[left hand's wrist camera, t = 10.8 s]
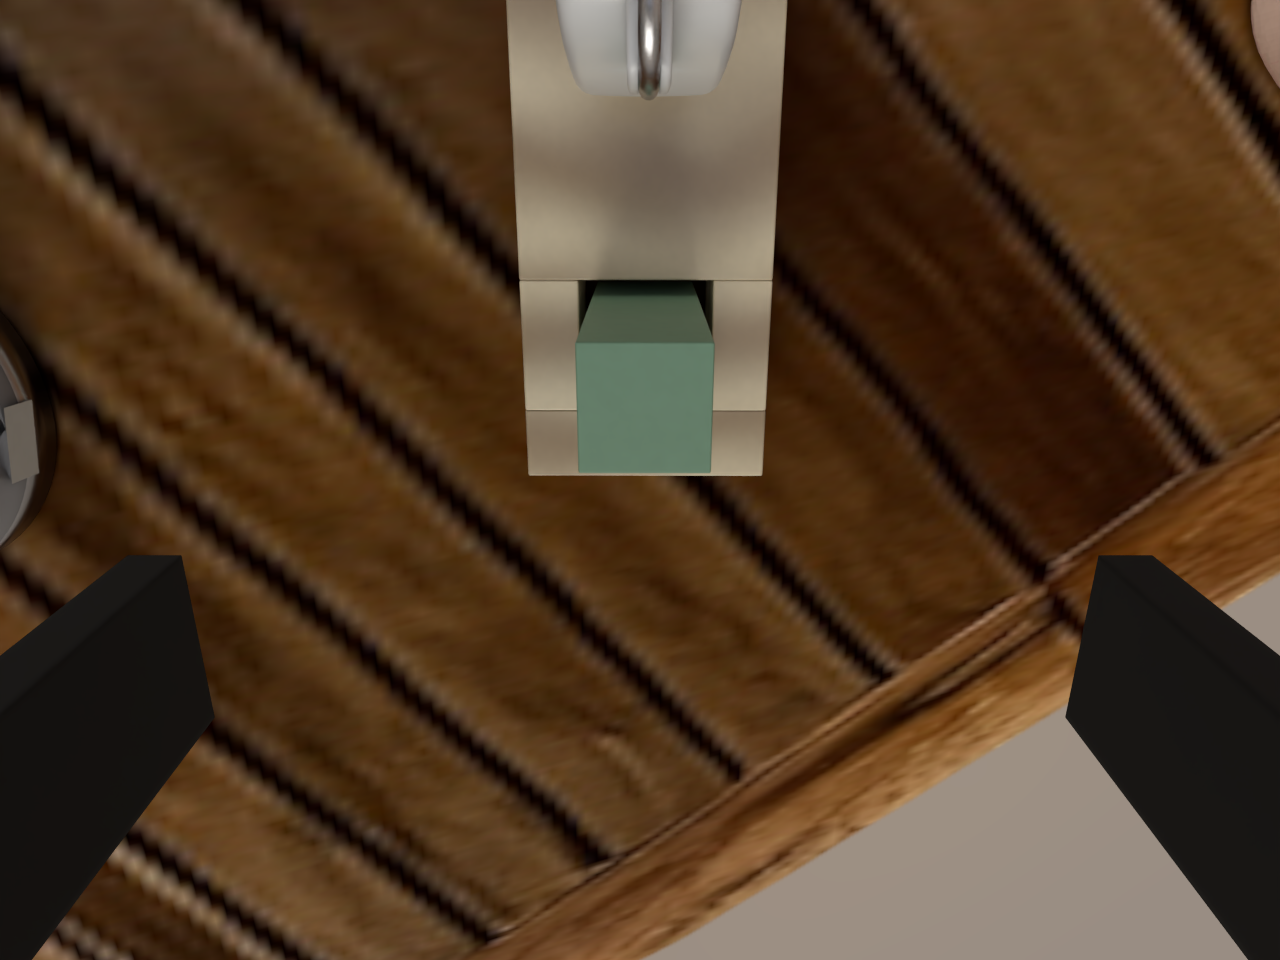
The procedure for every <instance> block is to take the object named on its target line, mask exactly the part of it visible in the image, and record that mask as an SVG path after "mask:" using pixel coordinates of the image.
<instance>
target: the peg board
mask: <svg viewBox="0 0 1280 960" xmlns="http://www.w3.org/2000/svg"><path fill="white" fill-rule="evenodd" d="M506 9H507V30H508V51H509V72H510V93H511V114H512V135H513V156H514V177H515V198H516V219H517V240H518V261H519V278H520V303H521V324H522V345H523V366H524V387H525V408H526V431H527V452H528V473H529V475H655V476H761V475H762V469H763V450H764V431H765V413H766V412H765V409H766V393H767V375H768V356H769V337H770V318H771V299H772V278H773V261H774V242H775V223H776V204H777V186H778V167H779V148H780V129H781V110H782V91H783V73H784V54H785V35H786V16H787V0H742V3H741V10H740V16H739V22H738V27H737V33H736V37H735V42H734V45H733V49H732V52H731V55H730V58H729V61H728V64H727V67H726V69H725V72H724V74H723V76H722V79H721V81H720V83H719V85H718V86H717V87H716V88H715V89H714V90H713V91H711V92H710V93H707V94H704V95H691V96H660V97H655V98H654V99H653V100H645V99H643V98H642V97H633V96H600V95H590V94H587V93H585V92H583V91H582V90H581V89H580V88H579V87H578V86H577V84H576V82H575V80H574V78H573V75H572V73H571V70H570V67H569V63H568V60H567V56H566V53H565V49H564V46H563V41H562V36H561V31H560V25H559V19H558V14H557V7H556V0H506ZM586 280H706V289H705V318H706V321H707V324H708V327H709V329H710V332H711V335H712V338H713V340H714V343H715V355H714V388H713V421H712V454H711V472H710V473H579V471H578V437H577V399H576V361H575V343H576V340H577V337H578V334H579V332H580V329H581V326H582V324H583V321H584V318H585V315H586Z"/></svg>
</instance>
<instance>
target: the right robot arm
mask: <svg viewBox="0 0 1280 960" xmlns="http://www.w3.org/2000/svg"><path fill="white" fill-rule="evenodd" d="M741 3H742V0H556V7H557V14H558V19H559V25H560V31H561V36H562V41H563V46H564V49H565V53H566V56H567V60H568V63H569V67H570V70H571V73H572V75H573V78H574V80H575V82H576V84H577V86H578V87H579V88H580V89H581V90H582V91H583V92H585V93H587V94H590V95H600V96H633V97H642V98H643V99H645V100H653V99H654V98H655V97H660V96H691V95H704V94H707V93H710V92H711V91H713V90H714V89H715V88H716V87H717V86H718V85H719V83H720V81H721V79H722V76H723V74H724V72H725V69H726V67H727V64H728V61H729V58H730V55H731V52H732V49H733V45H734V42H735V37H736V33H737V27H738V22H739V16H740V10H741Z"/></svg>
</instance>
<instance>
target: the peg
mask: <svg viewBox="0 0 1280 960" xmlns="http://www.w3.org/2000/svg"><path fill="white" fill-rule="evenodd" d="M714 355H715V343H714V340H713V338H712V335H711V332H710V329H709V327H708V324H707V321H706V318H705V316H704V313H703V310H702V308H701V305H700V302H699V299H698V297H697V294H696V291H695V288H694V286H693V283H692V282H598V283H597V286H596V288H595V291H594V294H593V297H592V299H591V302H590V305H589V307H588V310H587V313H586V315H585V318H584V321H583V324H582V326H581V329H580V332H579V334H578V337H577V340H576V343H575V361H576V399H577V437H578V471H579V473H710V472H711V454H712V421H713V388H714Z"/></svg>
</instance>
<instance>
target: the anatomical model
mask: <svg viewBox="0 0 1280 960" xmlns="http://www.w3.org/2000/svg"><path fill="white" fill-rule="evenodd" d="M1251 22H1252V30H1253V35H1254V39H1255V42H1256V46H1257V49H1258V52H1259V54H1260V56H1261V58H1262V60H1263V62H1264V64H1265V66H1266V68H1267V70H1268V71H1269V73H1270V74H1271V76H1272V77H1273V79H1274V81H1275V82H1276V84H1277V85H1278V87H1279V88H1280V0H1251Z"/></svg>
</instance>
